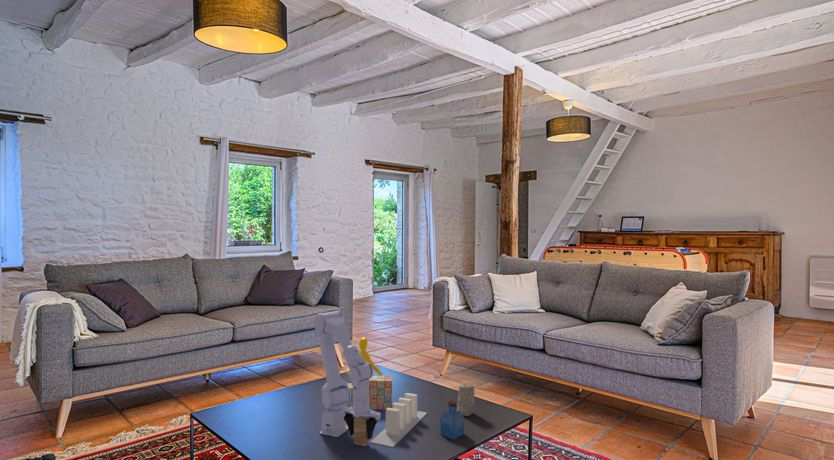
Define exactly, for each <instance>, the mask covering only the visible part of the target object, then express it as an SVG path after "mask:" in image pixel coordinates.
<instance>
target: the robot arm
mask: <svg viewBox="0 0 834 460" xmlns="http://www.w3.org/2000/svg"><path fill="white" fill-rule="evenodd" d="M313 320H314V321H313V325H314V329H315V335H316V337H318V340H319V341H318V342H319V346H320V352H321V358H322V364H323V367H324V373H325V378H326V382H325V384H324V385H323V386H322V387H321V389H320V390H321V403H322V405H323V407H325V411H324V412H323V414H322V416H321V430H320V432H319V434H320V435H324V436H329V437H334V438H339V437H341V435H343V434H344V433H346V432H349V436H350V437H352V436H354V418H355V417H362V418H367V419H368V420H366V425H367V438H368V441H369V440H372V438H373V436H374V435H373V434H374V430H375V428H376V425H377V423H378V421H379V420H380V419H381V415H382V414H381V412H378V411H376V410H374V409H369V379H370V378H371V377H372V376H374V370H373V369H372V367H371V364H370V363H368V362H367V361H366V360H364V359H363V357H362V356H361V354H360V353H361V351H360V349H359V348H358V346H357V345H353V344H352V341H351V339H350V337H349V333H348V332H347V329H346V328H345V323H346V322H345V321H346V319H345V318H344V315H343V312H342V311H340V310H335V311H329V312H323V313H321V312H320V313H317V314H316V315H315V317H314V319H313ZM334 338H335V339H336V340H337V342H338V343H339V345H340V346H341V348H342V350H343V352H342V357H343V358H344V360H345V362H346V365H347V366H348V368H349V370H350V372H349V375H348V376H349V378H350V381H351V382H350V383H351V384H352V386H353V407H346V406H347V405H348V402H349V401H350V399H351V392H350V389H349V388H348V385H347V383H348V382H347V380H344V379H342V378H341V372H340V368H339V362H338V359H337V352H336V347H335V342H334Z"/></svg>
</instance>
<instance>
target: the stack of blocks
mask: <svg viewBox="0 0 834 460" xmlns="http://www.w3.org/2000/svg"><path fill="white" fill-rule="evenodd" d="M347 385H348V388H349V389H350V392H351V399H350V401H349V402H348V405H347V406H346V407H353V386H352V384H351V382H347ZM392 404H393V376H392V375H391V376H390V375H389V376H387V375H381V376H379V375H372V377H371V378H370V379H369V409H371V410H385V411H386V409H387V408H392Z"/></svg>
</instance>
